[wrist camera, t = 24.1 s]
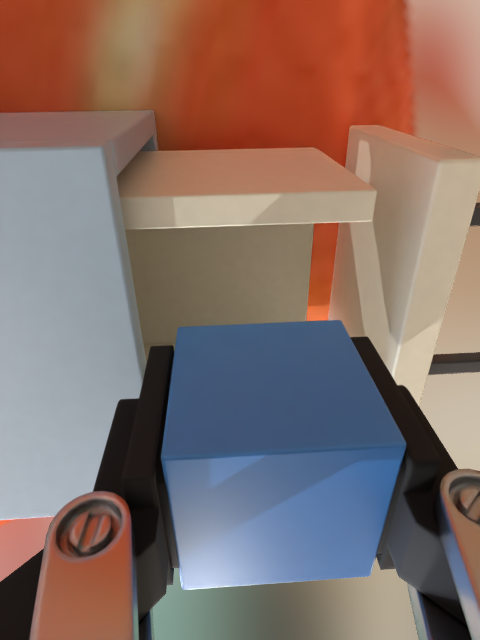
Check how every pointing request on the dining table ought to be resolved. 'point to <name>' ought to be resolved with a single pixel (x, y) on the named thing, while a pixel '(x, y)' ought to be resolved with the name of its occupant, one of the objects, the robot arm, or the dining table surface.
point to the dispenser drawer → (305, 240)
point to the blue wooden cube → (276, 455)
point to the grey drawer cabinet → (64, 300)
